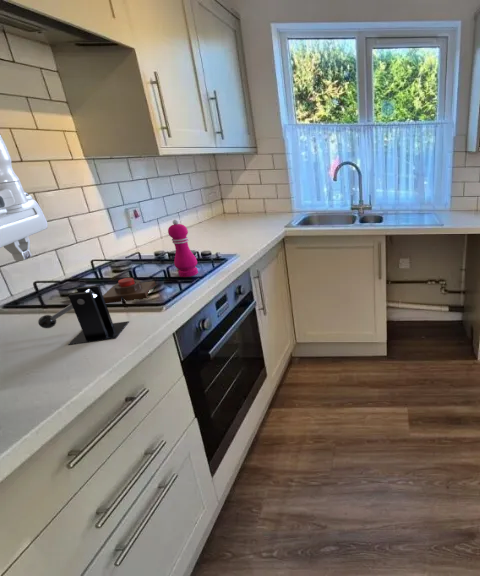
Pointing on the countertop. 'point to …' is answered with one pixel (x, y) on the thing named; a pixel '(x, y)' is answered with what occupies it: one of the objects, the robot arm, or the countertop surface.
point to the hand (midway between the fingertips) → (23, 259)
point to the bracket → (93, 317)
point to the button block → (128, 292)
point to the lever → (56, 315)
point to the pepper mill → (182, 250)
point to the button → (126, 282)
